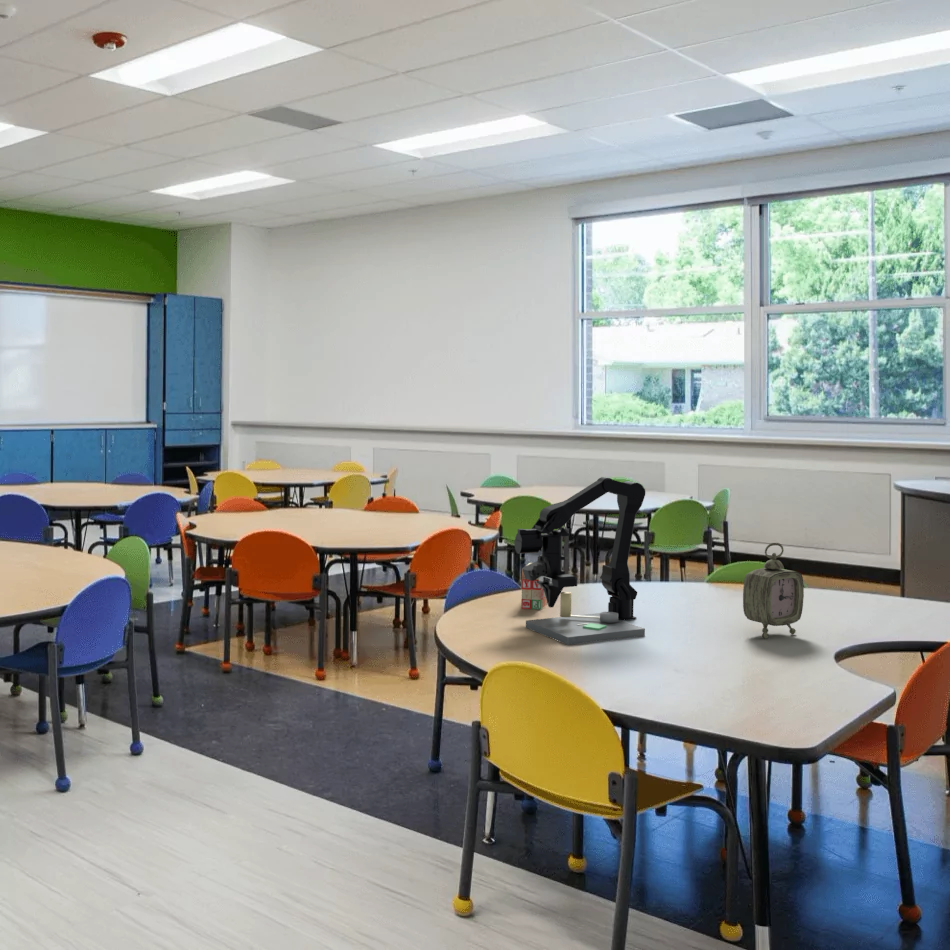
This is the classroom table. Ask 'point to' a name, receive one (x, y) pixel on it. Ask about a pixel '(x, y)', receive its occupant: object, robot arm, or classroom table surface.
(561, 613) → the beige and grey mallet
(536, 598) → the stack of blocks
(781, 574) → the tabletop clock
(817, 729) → the classroom table surface
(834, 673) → the classroom table surface
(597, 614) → the gauge plate
